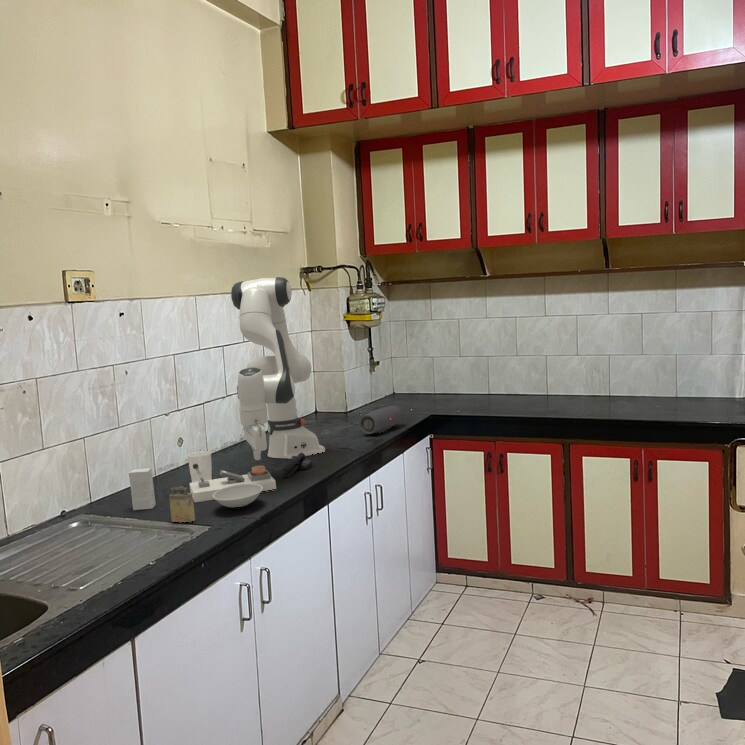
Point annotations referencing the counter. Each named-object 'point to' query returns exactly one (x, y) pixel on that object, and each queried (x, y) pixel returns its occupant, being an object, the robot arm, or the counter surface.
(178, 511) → the lighter
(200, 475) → the toggle lever
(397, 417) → the bluetooth speaker
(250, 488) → the dish
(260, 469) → the push button
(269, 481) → the switch panel
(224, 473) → the block
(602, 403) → the counter surface
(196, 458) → the white cup
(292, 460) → the can opener
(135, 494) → the skincare box
